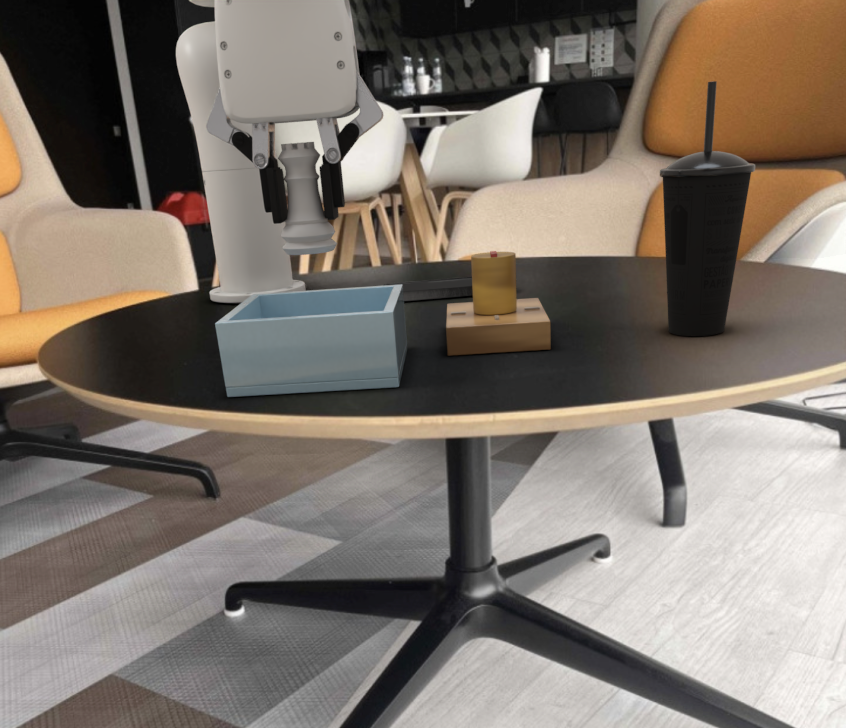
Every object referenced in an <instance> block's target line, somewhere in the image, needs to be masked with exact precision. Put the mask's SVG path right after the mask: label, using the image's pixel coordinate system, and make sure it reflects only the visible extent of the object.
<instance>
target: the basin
mask: <svg viewBox="0 0 846 728" xmlns="http://www.w3.org/2000/svg"><path fill="white" fill-rule="evenodd" d="M214 325H215V332H216V339H217V345H218V349H219V350H218V351H219V356H220V361H221V362H220V363H221V368H222V374H223V380H224V386H225V391H226V397H227V398H240V397H241V398H242V397H257V396H258V397H259V396H275V395H293V394H307V393H308V394H309V393H325V392H342V391H343V392H344V391H357V390H358V391H360V390H361V391H362V390H374V389H375V390H377V389H394V388H399V387H400V384H401V379H402V375H403V371H404V365H405V362H406V358H407V353H408V338H407V337H408V336H407V322H406V308H405V301H404V294H403V285H402V284H401V285H386V286H383V285H376V286H375V285H374V286H373V285H372V286H358V287H341V288H326V289H313V290H312V289H311V290H305V291H295V292H280V293H264V294H253V295H251V296H250V297H249V298H247V299H246V300H245V301H243V302H242V303H239V304H238V305H237V306H236V307H234V308H233V309H232V310H231V311H229V312H228V313H226V314H225V315H224V316H223V317H221V318H220V319H218V321H216V322H215V323H214Z"/></svg>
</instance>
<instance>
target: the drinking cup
mask: <svg viewBox="0 0 846 728" xmlns="http://www.w3.org/2000/svg"><path fill="white" fill-rule="evenodd" d="M706 91H707V92H706V93H707V94H706V105H705V123H704V124H705V126H704V138H703V139H704V140H703V151H699V152H694V153H691V154H689V155H685V156H683V157H680V158H678V159H676V160H675V161H673V162H672V163H670V164H669V165H668V166H667V167H664V168H661V169H659V177H660V178H662V196H663V216H664V217H663V218H664V219H663V221H664V223H663V224H664V245H665V273H666V276H665V277H666V300H667V326H668V327H667V328H668V332H669V333H670V334H672V335H675V336H683V337H708V336H714V335H719V334H723V332H725V328H726V322H727V316H728V310H729V304H730V299H731V293H732V287H733V282H734V276H735V270H736V263H737V258H738V253H739V246H740V240H741V234H742V230H743V229H742V228H743V224H744V216H745V211H746V207H747V206H746V205H747V201H748V200H747V199H748V193H749V188H750V183H751V176H752V173H754V172H755V171H756V163H750V162H748V161H747V160H746V159H744V158H742V157H741V156H739V155H737V154H734V153H730V152H725V151H720V150H713V146H714V145H713V144H714V127H715V116H716V115H715V113H716V99H717V98H716V97H717V81H715V80H714V81H708V82H707V89H706Z"/></svg>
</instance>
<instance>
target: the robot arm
mask: <svg viewBox="0 0 846 728" xmlns="http://www.w3.org/2000/svg"><path fill="white" fill-rule="evenodd" d="M188 1H189V2H190V3H192V4H194V5H196V6H200V7H205V8H214V21H207V22H202V23H197V24H194V25H192V26H190V27H188V28H187V29H186V30H184V31H183V32H182V33H181V35H179V37H178V40H177V42H176V46H175V60H176V66H177V71H178V75H179V78H180V82H181V86H182V89H183V92H184V95H185V99H186V102H187V105H188V109H189V113H190V117H191V121H192V126H193V129H194V135H195V140H196V145H197V150H198V155H199V163H200V168H201V174H202V180H203V186H204V192H205V193H204V194H205V199H206V204H207V212H208V218H209V223H210V229H211V235H212V243H213V249H214V254H215V261H216V262H215V263H216V267H217V274H218V279H219V285H220V286H218V287H215V288H212V289H211V290H210V291H209V292H208V293H209V298H210V299H209V300H211V301H212V302H213V303H219V304H220V303H221V304H241V303H242V302H243V301H245V300H246V299H247V298H249V297H250V296H251V295H253V294H264V293H280V292H295V291H307V289H306V282H305V281H303V280H300V279H299V280H298V279H294V278H293V270H292V262H291V255H288V254H286V252H285V251H284V250H283V249H282V247H283V246H284V245H285V243H286V241H285V240H284V239H283V238H282V237H281V233H282V230H283V228H284V227H285V225H286V223H285V220H286V219H287V213H288V199H287V193H286V192H287V191H286V186H285V184H286V183H285V180H284V177H285V176H284V171H283V168H281V167H280V166H279V159H278V153H277V151H276V150H277V149H276V124H287V123H298V122H299V123H300V122H313V121H316V125H317V130H318V133H319V139H320V142H321V145H322V150H323V155H322V156H321V161H322V163H321V165H320V166H319V176H320V177H319V179H320V185H321V187H320V188H321V195H322V206H323V210H324V214H325V218H327V219H328V221H335V220H336V219H337V218H339V214H340V213H339V208H345V205H346V198H345V189H344V180H343V170H342V161H344V159H345V157H347V154H348V153H350V150H351V149H352V148H353V147H354V145H355V144H356V143H357V142H358V140H359V139H360V138H361V137H362V136H364V135H365V134H366V133H367V132H369V131H370V130H371V129H372V128H374V127H375V126H376V125H378V124H379V123H380V122H382V120H383V119H384V111H383V110H382V108H381V107H380V105H379V103H378V102H377V100H376V99H375V97H374V95H373V94H372V92H371V90H370V89H369V87H368V86H367V84H366V82H365V81H364V79H363V78H362V77H361V75H360V68H359V59H358V58H359V57H358V51H357V44H356V37H355V29H354V23H353V22H354V21H353V16H352V15H353V14H352V9H351V4H350V0H188ZM358 111H359V113H358V114H357V116H355V117H354V118H353V119H352V120H351V121H350V122H348V123H346V124H345V125H344V126H343V128H342V129H341V131H340V127H339V123H338V119H343V118H347V117H350V116H351V115H354V114H356V113H357V112H358Z"/></svg>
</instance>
